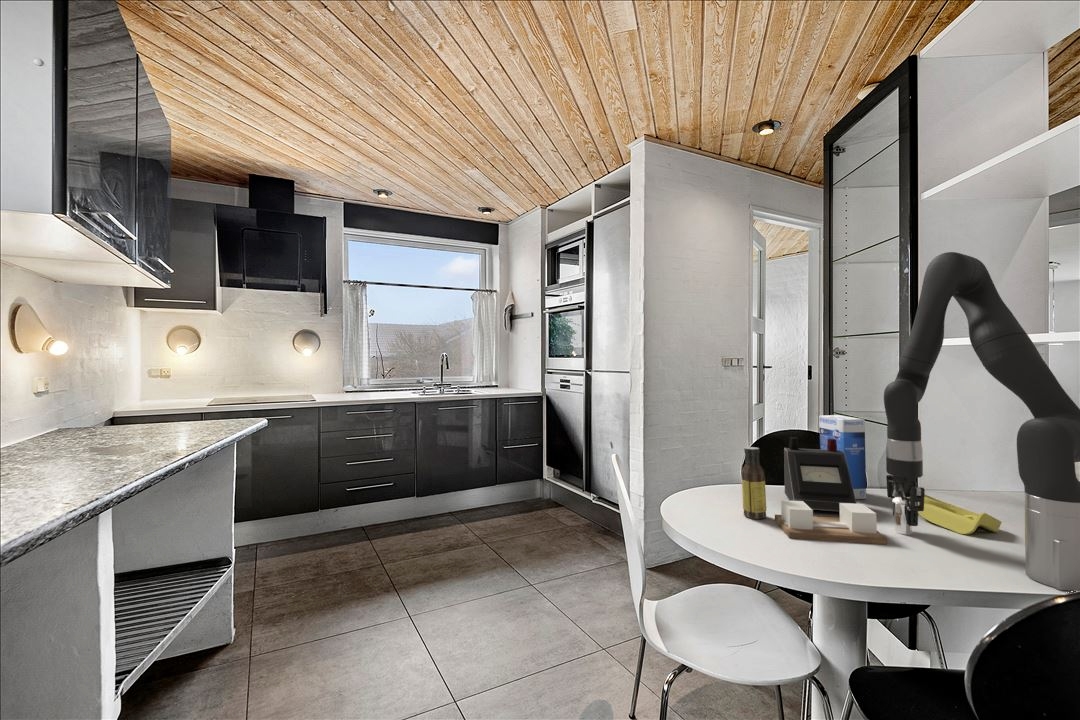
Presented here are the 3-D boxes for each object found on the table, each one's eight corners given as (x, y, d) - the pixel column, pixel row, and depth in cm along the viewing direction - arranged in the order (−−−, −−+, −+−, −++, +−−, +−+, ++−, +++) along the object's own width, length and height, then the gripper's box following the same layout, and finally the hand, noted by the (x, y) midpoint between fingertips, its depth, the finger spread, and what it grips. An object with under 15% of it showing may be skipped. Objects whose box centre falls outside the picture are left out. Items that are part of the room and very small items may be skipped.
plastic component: (1006, 524, 122) (980, 510, 120) (994, 550, 122) (968, 537, 120) (929, 497, 142) (905, 484, 140) (918, 519, 142) (895, 507, 139)
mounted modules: (876, 533, 119) (876, 513, 119) (789, 528, 124) (789, 509, 124) (862, 522, 127) (862, 504, 127) (781, 518, 131) (781, 500, 131)
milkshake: (909, 537, 120) (908, 498, 120) (888, 530, 125) (887, 492, 125) (922, 535, 121) (921, 496, 121) (901, 528, 126) (900, 491, 126)
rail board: (887, 544, 116) (886, 536, 116) (789, 537, 121) (789, 530, 121) (861, 524, 130) (861, 517, 130) (774, 519, 135) (774, 513, 135)
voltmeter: (794, 512, 141) (793, 445, 140) (784, 497, 156) (784, 436, 156) (857, 518, 135) (856, 448, 135) (841, 501, 151) (840, 438, 151)
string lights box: (867, 499, 152) (866, 419, 152) (844, 499, 152) (842, 419, 152) (840, 488, 166) (839, 414, 165) (819, 488, 165) (818, 414, 165)
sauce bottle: (769, 516, 138) (768, 447, 138) (761, 521, 133) (760, 450, 133) (747, 511, 142) (746, 445, 142) (738, 516, 138) (737, 448, 138)
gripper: (937, 463, 115) (938, 531, 115) (906, 451, 129) (906, 512, 129) (902, 462, 117) (902, 529, 117) (874, 450, 131) (875, 511, 131)
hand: (904, 520), depth 123 cm, fingers open, 6 cm apart
